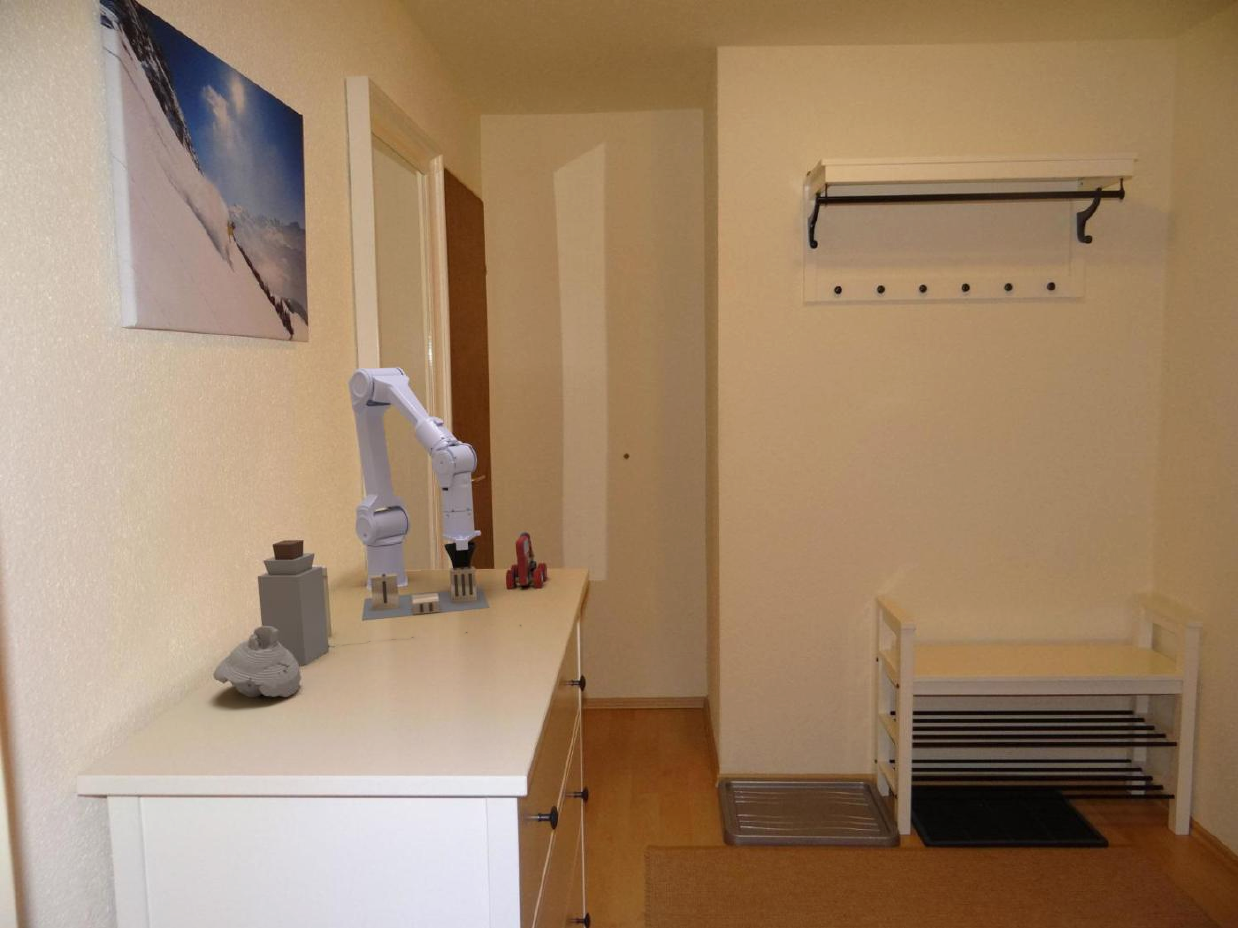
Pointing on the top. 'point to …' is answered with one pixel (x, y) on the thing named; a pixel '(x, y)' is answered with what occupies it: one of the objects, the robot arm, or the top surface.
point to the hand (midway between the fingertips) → (462, 581)
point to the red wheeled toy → (525, 566)
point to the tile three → (463, 584)
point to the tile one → (384, 591)
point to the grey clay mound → (261, 666)
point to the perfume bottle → (294, 601)
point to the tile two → (425, 603)
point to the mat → (407, 610)
